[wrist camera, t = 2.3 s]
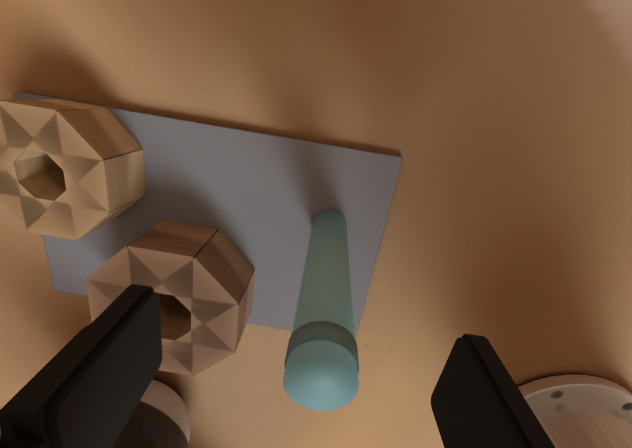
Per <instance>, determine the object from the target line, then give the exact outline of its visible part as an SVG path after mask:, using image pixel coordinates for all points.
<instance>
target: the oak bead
mask: <svg viewBox="0 0 632 448" xmlns="http://www.w3.org/2000/svg"><path fill="white" fill-rule="evenodd" d="M145 193H146V191H145V174H144V157H143V149H142V147H141V146H140V145H139V144H138V143H137V141H136V140H135V139H134V138H133V137H132V136H131V135H130V134H129V133H128V131H127V130H126V129H125V128H124V127H123V126H122V125H121V124H120V122H119V121H118V120H117V119H116V118H115V117H114V116H113V115H112V114H111V112H110V111H109V110H108V109H107V108H105V107H100V106H94V105H88V104H82V103H76V102H71V101H65V100H59V99H47V100H0V209H1V210H2V211H4V212H5V213H6V214H7V215H8V216H9V217H10V218H11V219H13V220H14V221H15V222H16V223H17V224H18V225H19V226H20V227H21V228H23V229H24V230H25V231H27V232H31V233H37V234H43V235H49V236H55V237H60V238H66V239H72V240H78V239H80V238H82V237H83V236H85V235H87V234H89V233H91V232H92V231H94V230H96V229H98V228H99V227H101V226H103V225H105V224H107V223H108V222H110V221H112V220H114V219H116V218H117V217H119V216H120V215H121V214H122V213H123V212H125V211H126V210H127V209H128V208H129V207H131V206H132V205H133V204H134V203H135V202H137V201H138V200H139V199H140V198H141V197H143V196H144V195H145Z"/></svg>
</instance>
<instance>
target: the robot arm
mask: <svg viewBox="0 0 632 448" xmlns="http://www.w3.org/2000/svg"><path fill="white" fill-rule="evenodd" d="M161 362H162V339H161V322H160V305H159V294H158V293H157V292H154V289H153V287H150V286H144V285H137V284H131V285H129V286H128V287H127V288H126V289H125V290H124V291H123V292H122V293H121V294H120V295H119V296H118V297H117V298H116V299H115V300H114V301H113V302H112V303H111V304H110V305H109V306H108V307H107V308H106V309H105V310H104V311H103V312H102V313H101V314H100V315H99V316H98V317H97V318H96V319H95V320H94V321H93V322H92V323H91V324H90V325H89V326H86V327H85V328H83V329H82V330H81V331H80V332H79V333H78V334H77V335H76V336H75V337H74V338H73V339H72V340H71V341H70V342H69V343H68V344H67V345H66V346H65V347H64V348H63V349H62V350H61V351H60V352H59V353H58V354H57V355H56V356H55V357H54V358H53V359H52V360H50V361H49V362H48V363H47V364H46V365H45V366H44V367H43V368H42V369H41V370H40V371H39V372H38V373H37V374H36V375H35V376H34V377H33V378H32V379H31V380H30V381H29V382H28V383H27V384H26V385H25V386H24V387H23V388H22V389H21V390H20V391H19V392H18V393H17V394H16V395H15V396H14V397H13V398H12V399H11V400H10V401H9V402H8V403H7V404H6V405H5V406H4V407H3V408H2V409H1V410H0V448H112V446H113V445H114V443H115V441H116V440H117V438H118V436H119V435H120V433H121V431H122V430H123V428H124V426H125V425H126V423H127V421H128V420H129V418H130V416H131V415H132V413H133V411H134V410H135V408H136V406H137V405H138V403H139V401H140V400H141V398H142V396H143V395H144V393H145V391H146V390H147V388H148V386H149V385H150V383H151V381H152V380H153V378H154V376H155V375H156V373H157V371H158V370H159V368H160V365H161ZM431 407H432V410H433V413H434V417H435V420H436V423H437V426H438V429H439V432H440V435H441V438H442V441H443V445H444V448H632V394H631V393H630V392H629V391H628V390H627V389H626V388H624V387H622V386H620V385H619V384H617V383H615V382H613V381H610V380H607V379H604V378H600V377H594V376H588V375H560V376H551V377H547V378H543V379H539V380H535V381H532V382H529V383H527V384H524V385H521V386H519V387H517V386H516V384H515V382H514V381H513V379H512V378H511V376H510V374H509V373H508V371H507V370H506V368H505V366H504V365H503V363H502V362H501V360H500V358H499V357H498V355H497V354H496V352H495V351H494V349H493V347H492V346H491V344H490V343H489V341H488V340H487V338H485V337H483V336H477V335H470V334H464V335H463V336H462V337H461V338H458V339H457V340H456V342H455V344H454V346H453V349H452V351H451V353H450V355H449V358H448V360H447V362H446V364H445V366H444V369H443V371H442V373H441V375H440V378H439V380H438V382H437V384H436V387H435V389H434V391H433V393H432V396H431Z"/></svg>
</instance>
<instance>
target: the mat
mask: <svg viewBox="0 0 632 448" xmlns="http://www.w3.org/2000/svg"><path fill="white" fill-rule="evenodd" d="M14 97H15V100H47V99H59V100H65V101H71V102H76V103H82V104H88V105H94V106H100V107H105V108H107V109H108V110H109V111H110V112H111V114H112V115H113V116H114V117H115V118H116V119H117V120H118V121H119V122H120V124H121V125H122V126H123V127H124V128H125V129H126V130H127V131H128V133H129V134H130V135H131V136H132V137H133V138H134V139H135V140H136V141H137V143H138V144H139V145H140V146H141V147H142V149H143V157H144V174H145V191H146V193H145V195H144V196H143V197H141V198H140V199H139V200H138V201H137V202H135V203H134V204H133V205H132V206H131V207H129V208H128V209H127V210H126V211H125V212H123V213H122V214H121V215H120V216H119V217H117V218H116V219H114V220H112V221H110V222H108V223H107V224H105V225H103V226H101V227H99V228H98V229H96V230H94V231H92V232H91V233H89V234H87V235H85V236H83V237H82V238H80V239H78V240H72V239H66V238H60V237H55V236H49V235H43V239H44V244H45V249H46V254H47V259H48V264H49V269H50V274H51V278H52V283H53V288H54V291H58V292H64V293H70V294H76V295H82V296H88V295H87V288H86V282H85V279H86V277H87V276H89V275H90V274H91V273H93V272H94V271H95V270H96V269H98V268H99V267H100V266H101V265H103V264H104V263H105V262H107V261H108V260H109V259H110V258H112V257H113V256H114V255H115V254H117V253H118V252H119V251H121V250H122V249H123V248H124V247H126V246H127V245H128V244H130V243H131V242H133V241H134V240H135V239H137V238H138V237H139V236H141V235H142V234H144V233H145V232H146V231H148V230H149V229H151V228H152V227H153V226H155V225H156V224H158V223H159V222H160V221H162V220H164V219H168V220H173V221H179V222H185V223H191V224H197V225H203V226H209V227H215V228H218V230H219V229H221V231H222V232H223V233H224V234H225V235H226V236H227V237H228V238H229V240H230V241H231V242H232V243H233V244H234V245H235V246H236V247H237V249H238V250H239V251H240V252H241V253H242V254H243V255H244V256H245V258H246V259H247V260H248V261H249V262H250V263H251V264H252V265H253V267H254V268H255V278H254V289H253V299H252V310H251V313H250V316H249V318H248V321H247V323H250V324H255V325H261V326H267V327H273V328H279V329H285V330H291V331H292V330H293V325H294V319H295V314H296V308H297V303H298V298H299V292H300V287H301V282H302V276H303V271H304V266H305V260H306V255H307V250H308V244H309V239H310V233H311V228H312V223H313V219H314V218H315V216H316V215H317V214H318V213H319V212H321V211H324V210H335V211H337V212H339V213H340V214H342V216H343V217H344V218H345V221H346V227H347V240H348V253H349V266H350V279H351V292H352V305H353V318H354V332H355V337H356V333H357V329H358V326H359V322H360V318H361V314H362V310H363V307H364V303H365V299H366V295H367V292H368V288H369V284H370V280H371V277H372V273H373V269H374V265H375V262H376V258H377V254H378V250H379V246H380V243H381V239H382V235H383V231H384V228H385V224H386V220H387V216H388V213H389V209H390V205H391V201H392V197H393V194H394V190H395V186H396V182H397V179H398V175H399V171H400V167H401V164H402V160H403V158H402V157H401V156H395V155H389V154H383V153H378V152H372V151H366V150H360V149H354V148H348V147H342V146H336V145H331V144H325V143H319V142H313V141H307V140H301V139H295V138H289V137H284V136H278V135H272V134H266V133H260V132H254V131H248V130H243V129H237V128H231V127H225V126H219V125H213V124H207V123H201V122H196V121H190V120H184V119H178V118H172V117H166V116H160V115H154V114H149V113H143V112H137V111H131V110H125V109H119V108H113V107H107V106H102V105H96V104H90V103H84V102H78V101H72V100H66V99H60V98H55V97H49V96H43V95H37V94H31V93H25V92H14Z"/></svg>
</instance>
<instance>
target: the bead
mask: <svg viewBox="0 0 632 448" xmlns="http://www.w3.org/2000/svg"><path fill="white" fill-rule="evenodd" d="M254 278H255V268H254V267H253V265H252V264H251V263H250V262H249V261H248V260H247V259H246V258H245V256H244V255H243V254H242V253H241V252H240V251H239V250H238V249H237V247H236V246H235V245H234V244H233V243H232V242H231V241H230V240H229V238H228V237H227V236H226V235H225V234H224V233H223V232H222V231H221V229H219V230H218V228H215V227H209V226H203V225H197V224H191V223H185V222H179V221H173V220H168V219H164V220H162V221H160V222H159V223H158V224H156V225H155V226H153V227H152V228H151V229H149V230H148V231H146V232H145V233H144V234H142V235H141V236H139V237H138V238H137V239H135V240H134V241H133V242H131V243H130V244H128V245H127V246H126V247H124V248H123V249H122V250H121V251H119V252H118V253H117V254H115V255H114V256H113V257H112V258H110V259H109V260H108V261H107V262H105V263H104V264H103V265H101V266H100V267H99V268H98V269H96V270H95V271H94V272H93V273H91V274H90V275H89V276H87V277H86V279H85V282H86V288H87V295H88V301H89V308H90V314H91V321H92V322H93V321H94V320H95V319H96V318H97V317H98V316H99V315H100V314H101V313H102V312H103V311H104V310H105V309H106V308H107V307H108V306H109V305H110V304H111V303H112V302H113V301H114V300H115V299H116V298H117V297H118V296H119V295H120V294H121V293H122V292H123V291H124V290H125V289H126V288H127V287H128V286H129V285H131V284H137V285H144V286H150V287H153V289H154V292H157V293H158V294H159V305H160V322H161V339H162V362H161V365H160V368H159V370H160V371H166V372H172V373H178V374H184V375H190V376H193V375H196V374H198V373H200V372H202V371H203V370H205V369H207V368H209V367H211V366H212V365H214V364H216V363H218V362H219V361H221V360H223V359H225V358H227V357H228V356H230V355H232V354H234V353H235V351H236V349H237V346H238V344H239V341H240V339H241V336H242V334H243V331H244V329H245V326H246V323H247V321H248V318H249V316H250V313H251V310H252V299H253V289H254Z"/></svg>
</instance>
